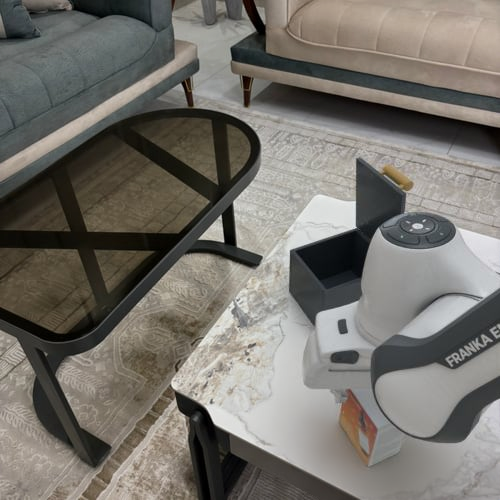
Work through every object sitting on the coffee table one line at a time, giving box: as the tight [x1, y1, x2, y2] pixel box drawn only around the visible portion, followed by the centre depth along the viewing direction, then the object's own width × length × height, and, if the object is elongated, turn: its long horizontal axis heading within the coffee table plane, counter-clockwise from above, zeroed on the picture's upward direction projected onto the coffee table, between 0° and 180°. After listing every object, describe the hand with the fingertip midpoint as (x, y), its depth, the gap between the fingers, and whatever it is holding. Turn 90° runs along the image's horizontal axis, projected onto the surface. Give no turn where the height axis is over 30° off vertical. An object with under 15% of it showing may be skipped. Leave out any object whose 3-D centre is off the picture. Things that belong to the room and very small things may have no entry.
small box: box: [338, 389, 407, 468], centre depth 70 cm, size 8×6×10 cm
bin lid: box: [355, 156, 414, 241], centre depth 85 cm, size 15×12×5 cm
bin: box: [288, 227, 371, 327], centre depth 92 cm, size 14×12×11 cm
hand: (375, 398), depth 68 cm, fingers open, 8 cm apart
